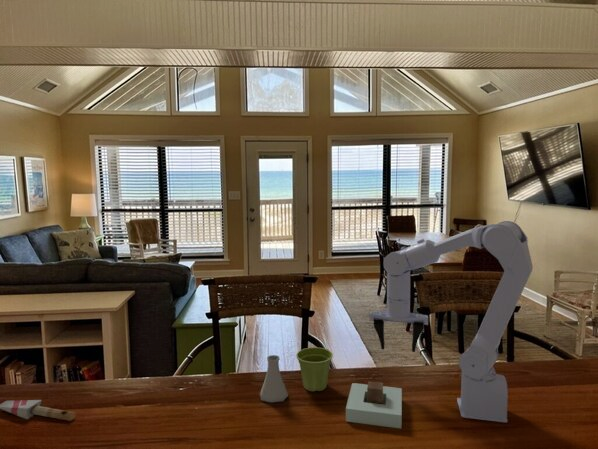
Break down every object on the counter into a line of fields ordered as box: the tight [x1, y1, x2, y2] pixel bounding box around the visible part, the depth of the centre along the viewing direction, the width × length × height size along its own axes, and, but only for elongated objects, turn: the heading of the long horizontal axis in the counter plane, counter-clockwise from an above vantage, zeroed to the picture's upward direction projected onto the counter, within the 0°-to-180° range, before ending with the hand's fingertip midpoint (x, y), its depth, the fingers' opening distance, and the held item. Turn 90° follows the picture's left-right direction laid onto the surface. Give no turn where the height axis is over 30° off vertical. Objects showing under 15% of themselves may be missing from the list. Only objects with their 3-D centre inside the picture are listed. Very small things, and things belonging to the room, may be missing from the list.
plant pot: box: [296, 346, 334, 392], centre depth 106 cm, size 9×9×9 cm
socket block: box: [345, 382, 403, 429], centre depth 94 cm, size 12×12×3 cm
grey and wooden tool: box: [0, 399, 76, 422], centre depth 94 cm, size 4×3×20 cm
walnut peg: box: [367, 380, 384, 404], centre depth 94 cm, size 3×3×6 cm
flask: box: [259, 354, 289, 404], centre depth 101 cm, size 7×7×10 cm
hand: (398, 349), depth 105 cm, fingers open, 7 cm apart
